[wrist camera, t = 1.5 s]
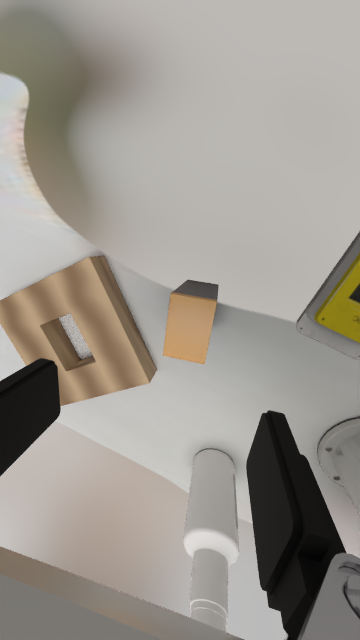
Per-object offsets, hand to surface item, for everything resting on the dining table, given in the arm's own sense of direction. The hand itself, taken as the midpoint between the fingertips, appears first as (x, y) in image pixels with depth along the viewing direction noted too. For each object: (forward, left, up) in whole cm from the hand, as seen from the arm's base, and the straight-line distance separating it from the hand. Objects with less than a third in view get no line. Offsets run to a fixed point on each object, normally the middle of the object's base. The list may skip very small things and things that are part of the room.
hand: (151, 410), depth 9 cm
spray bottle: (-7, +27, -20) cm, 35 cm away
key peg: (0, 0, -20) cm, 20 cm away
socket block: (+17, +8, -20) cm, 27 cm away
